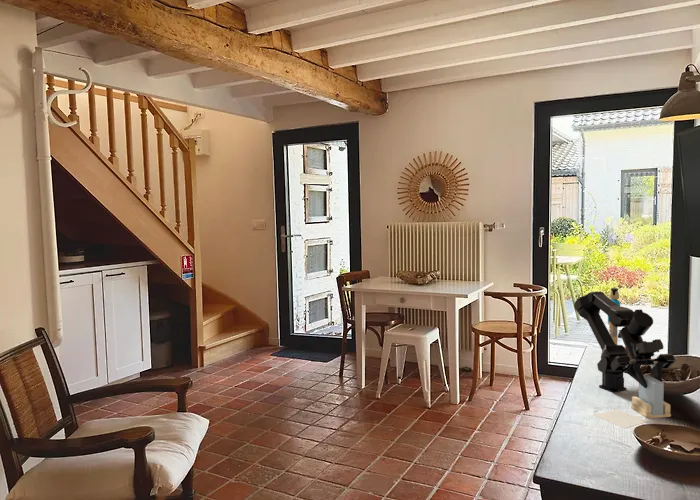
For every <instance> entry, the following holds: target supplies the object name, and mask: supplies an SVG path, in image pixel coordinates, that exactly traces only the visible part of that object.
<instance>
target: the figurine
mask: <svg viewBox="0 0 700 500" xmlns="http://www.w3.org/2000/svg"><path fill="white" fill-rule="evenodd" d="M609 297H610V298H609V299H611V300H612V301H613V302H614V303H616V304H617V305H618V306H621V301H619V298H620V292H619V288H616V287H612V288H610V292H609ZM608 319H609V316H608V315H607V324H608V331H609V333H610V335H611V337H612V339H613V341H614V343H615V344H616V345H618V327H614V326H613V325H612V324H611V323H610V321H609V320H608Z"/></svg>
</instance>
